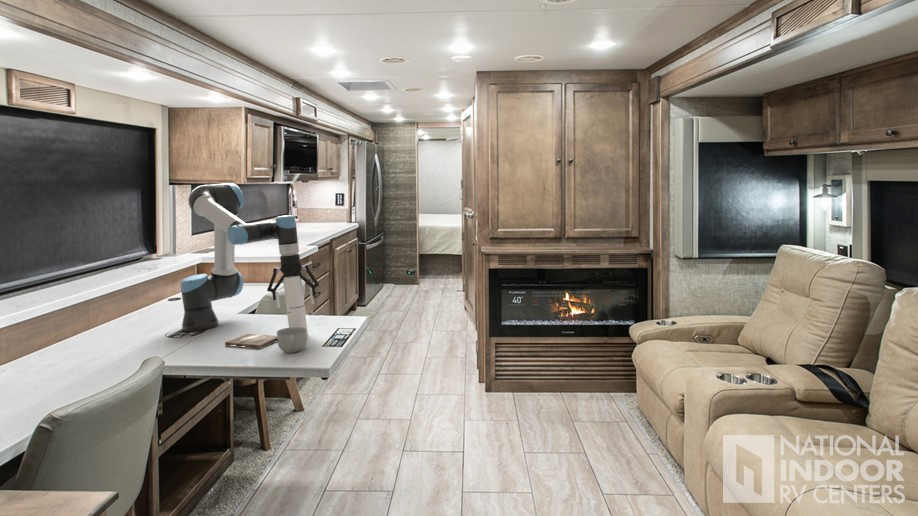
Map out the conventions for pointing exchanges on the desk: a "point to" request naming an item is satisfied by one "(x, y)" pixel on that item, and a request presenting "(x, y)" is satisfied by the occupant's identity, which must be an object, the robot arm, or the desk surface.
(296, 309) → the cylindrical container
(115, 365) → the desk surface
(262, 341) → the board
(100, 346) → the desk surface
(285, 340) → the teacup
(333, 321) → the desk surface
